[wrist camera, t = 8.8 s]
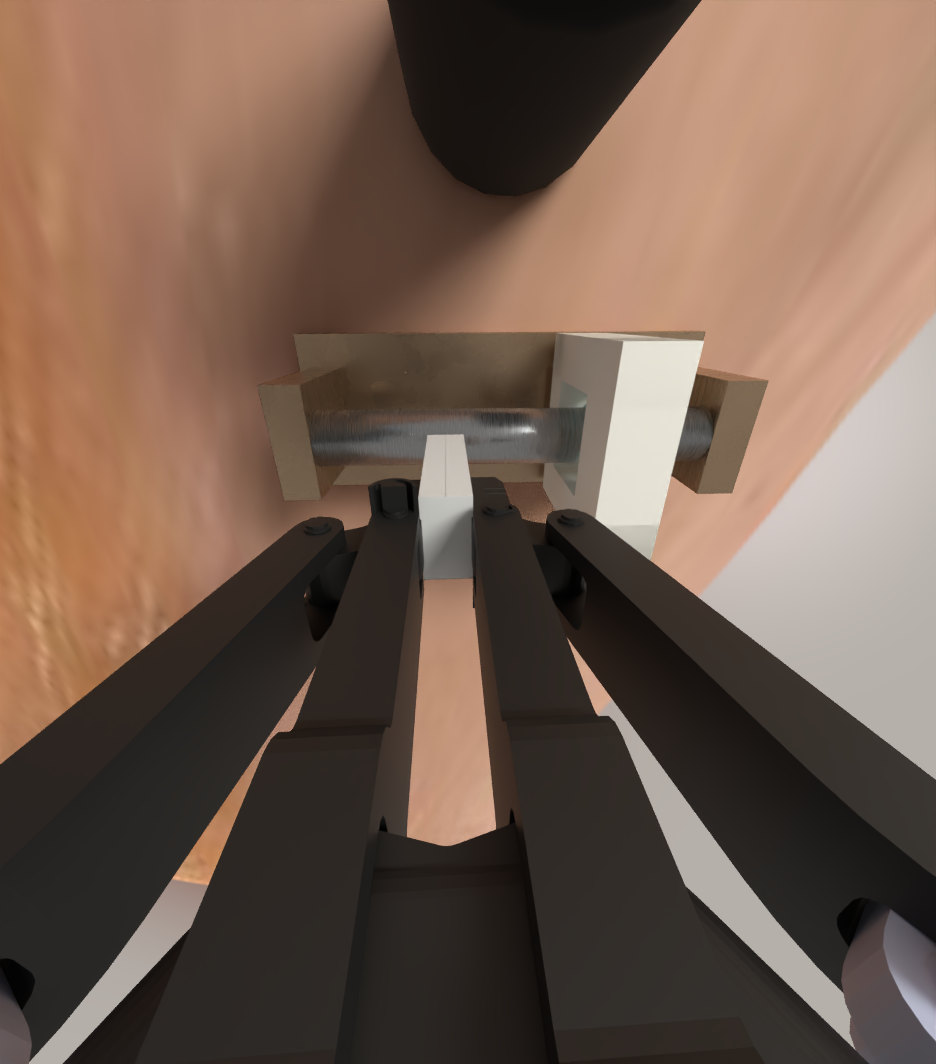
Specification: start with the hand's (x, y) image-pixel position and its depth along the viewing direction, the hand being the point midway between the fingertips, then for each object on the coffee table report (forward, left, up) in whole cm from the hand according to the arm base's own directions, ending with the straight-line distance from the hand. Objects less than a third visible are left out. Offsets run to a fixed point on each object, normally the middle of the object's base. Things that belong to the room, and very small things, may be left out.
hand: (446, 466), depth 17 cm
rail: (+3, 0, -13) cm, 13 cm away
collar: (+8, 0, -11) cm, 13 cm away
